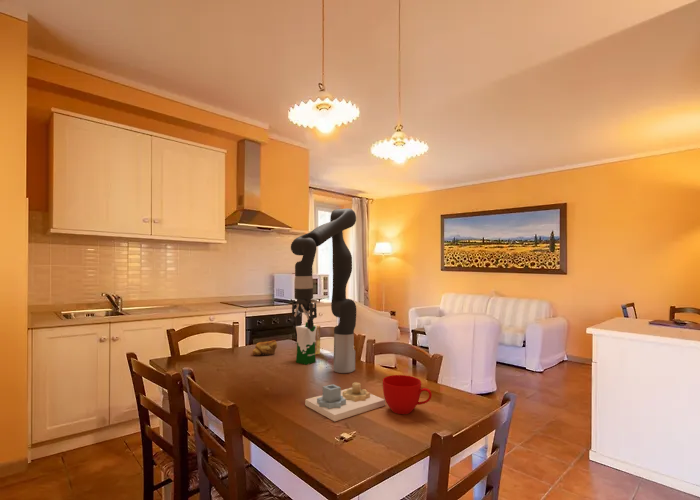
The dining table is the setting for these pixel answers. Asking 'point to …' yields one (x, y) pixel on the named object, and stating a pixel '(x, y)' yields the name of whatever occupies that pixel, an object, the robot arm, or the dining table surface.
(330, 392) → the planet gear
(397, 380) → the ceramic cup
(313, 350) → the milk carton
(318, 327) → the candy box
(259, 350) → the bread roll
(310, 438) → the dining table surface
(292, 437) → the dining table surface
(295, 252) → the robot arm
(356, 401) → the carrier plate
